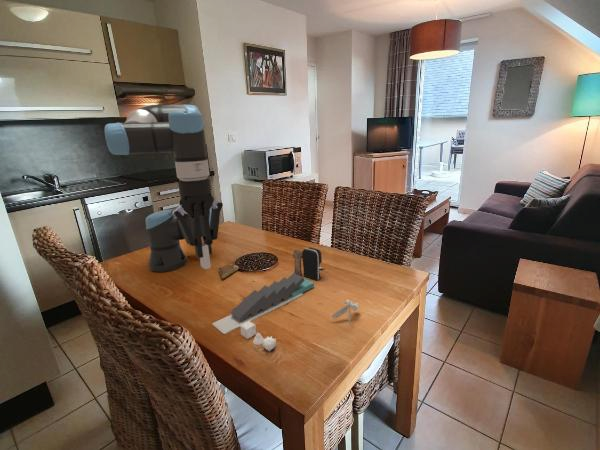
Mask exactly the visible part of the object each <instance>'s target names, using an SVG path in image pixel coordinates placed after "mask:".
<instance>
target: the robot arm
mask: <svg viewBox="0 0 600 450" xmlns="http://www.w3.org/2000/svg"><path fill="white" fill-rule="evenodd" d="M104 136H105V142H106V146H107V149H108V150H109V152H110V153H111V155H115V156H116V155H117V156H120V155H121V156H122V155H123V156H128V155H141V154H155V153H156V154H160V153H173V156H174V164H175V165H174V167H175V171H176V178H178V179H179V180H178V182H177V185H178V191H179V193H178V194H179V196H180V198H179V199H180V200H179V205H178V206H177V208H175V209H172V208H171V209H163V210H160V211H156V212H152V213H151V214H149V215H148V216H146V217H145V226H146V227H145V229H146V232H147V237H148V243H149V248H150V252H149V258H148V269H149V270H150V272H151V271H152V272H157V273H163V272H169V271H174V270H177V269H181V268H182V267H184V266H186V265H187V263H188V260H187V259H188V258H187V255H186V254H185V252H184V250H183V248H182V246H181V242H180V241H181V240H185V243H186V244H188V245H189V246H191V247H194V249H195V256H196V257H197V258H198V259H199V262H200V267H201V268H203V269H204V270H208V269H211V268H212V264H211V258H210V257H211V255H212V254H213V249H212V245H213V241H214V240H217V239H218V236H219V226H220V225H219V224H220V216H221V211H222V209H223V206H224V203H223V202H221V201H217V200H215V198H214V197H213V194H212V192H213V191H212V185H211V184H212V183H211V179H210V178H209V176H210V168H209V159H208V154H207V153H208V152H207V151H208V150H207V143H206V142H207V141H206V134H205V124H204V119H203V114H202V112H200V109H199V107H198V106H196V104H195V105H194V104H183V103H181V104H152V105H151V104H150V105H146V106H142V107H139V108H136V109H134V110H132V111H131V112H130V113H129V114H128V115H127V118H126V120H125V122H116V123H115V122H114V123H113V122H112V123H111V122H110V123H107V124H105V126H104Z"/></svg>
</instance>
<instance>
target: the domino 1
mask: <svg viewBox="0 0 600 450" xmlns="http://www.w3.org/2000/svg"><path fill="white" fill-rule="evenodd" d="M258 291H259V290H258ZM258 291H257V290H256V289H253V291H251V293H249V294H248V295H247V296H246V297H245V298H244V299H243V300H242V301H241V302H240V303H239V304H238V305H237V306H235V307H234V308H233V309H232V310H231V311H230V315H231V314H232V316H233V317H235V318H236V319H237V320H239V321H240V322H241V323H242V322H243V321H244V320H245V319H246V318H247V317H248V316H249V315H250V314H251V313H252V312H253V311H254V310H255V309H256V308H257V307H258V306H259V305H260V304H261V303H262V302H263V301H264V300H265V299H266V298H265V296H264V295H263V294H261V293H259V292H258Z"/></svg>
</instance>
